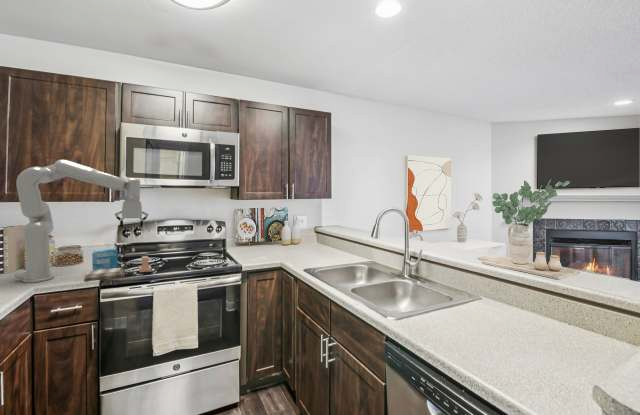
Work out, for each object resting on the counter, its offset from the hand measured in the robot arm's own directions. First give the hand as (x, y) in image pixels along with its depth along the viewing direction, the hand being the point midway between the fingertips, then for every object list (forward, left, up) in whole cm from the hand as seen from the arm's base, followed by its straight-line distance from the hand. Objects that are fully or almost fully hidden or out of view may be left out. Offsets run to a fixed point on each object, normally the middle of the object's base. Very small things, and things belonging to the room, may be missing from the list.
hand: (131, 227), depth 185 cm
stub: (+7, -8, -25) cm, 27 cm away
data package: (-14, +11, -27) cm, 32 cm away
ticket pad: (-13, -8, -26) cm, 30 cm away
